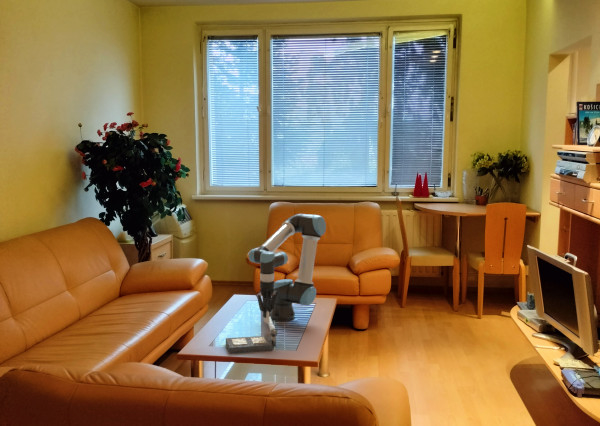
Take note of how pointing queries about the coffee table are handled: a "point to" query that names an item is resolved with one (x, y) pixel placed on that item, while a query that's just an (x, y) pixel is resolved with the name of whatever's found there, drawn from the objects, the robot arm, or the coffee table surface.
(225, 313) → the coffee table surface
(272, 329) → the ball-tipped flat stick
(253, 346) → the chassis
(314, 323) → the coffee table surface
